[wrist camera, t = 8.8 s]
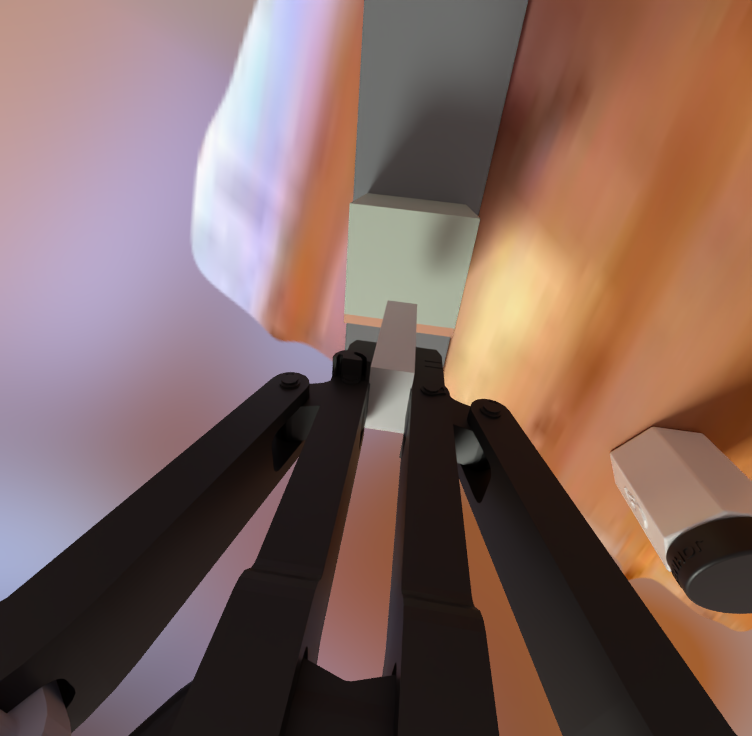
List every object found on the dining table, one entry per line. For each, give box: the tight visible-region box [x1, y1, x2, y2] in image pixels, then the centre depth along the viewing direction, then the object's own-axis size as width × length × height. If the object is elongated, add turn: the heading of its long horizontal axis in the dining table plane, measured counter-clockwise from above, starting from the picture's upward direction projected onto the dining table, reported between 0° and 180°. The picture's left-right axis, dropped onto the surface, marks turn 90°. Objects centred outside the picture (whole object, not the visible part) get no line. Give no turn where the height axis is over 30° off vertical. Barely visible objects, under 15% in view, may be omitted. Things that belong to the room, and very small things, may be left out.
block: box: [344, 193, 480, 337], centre depth 23 cm, size 7×7×7 cm
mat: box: [345, 0, 528, 366], centre depth 26 cm, size 28×9×1 cm, turn 175°
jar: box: [610, 427, 752, 614], centre depth 29 cm, size 9×8×12 cm
